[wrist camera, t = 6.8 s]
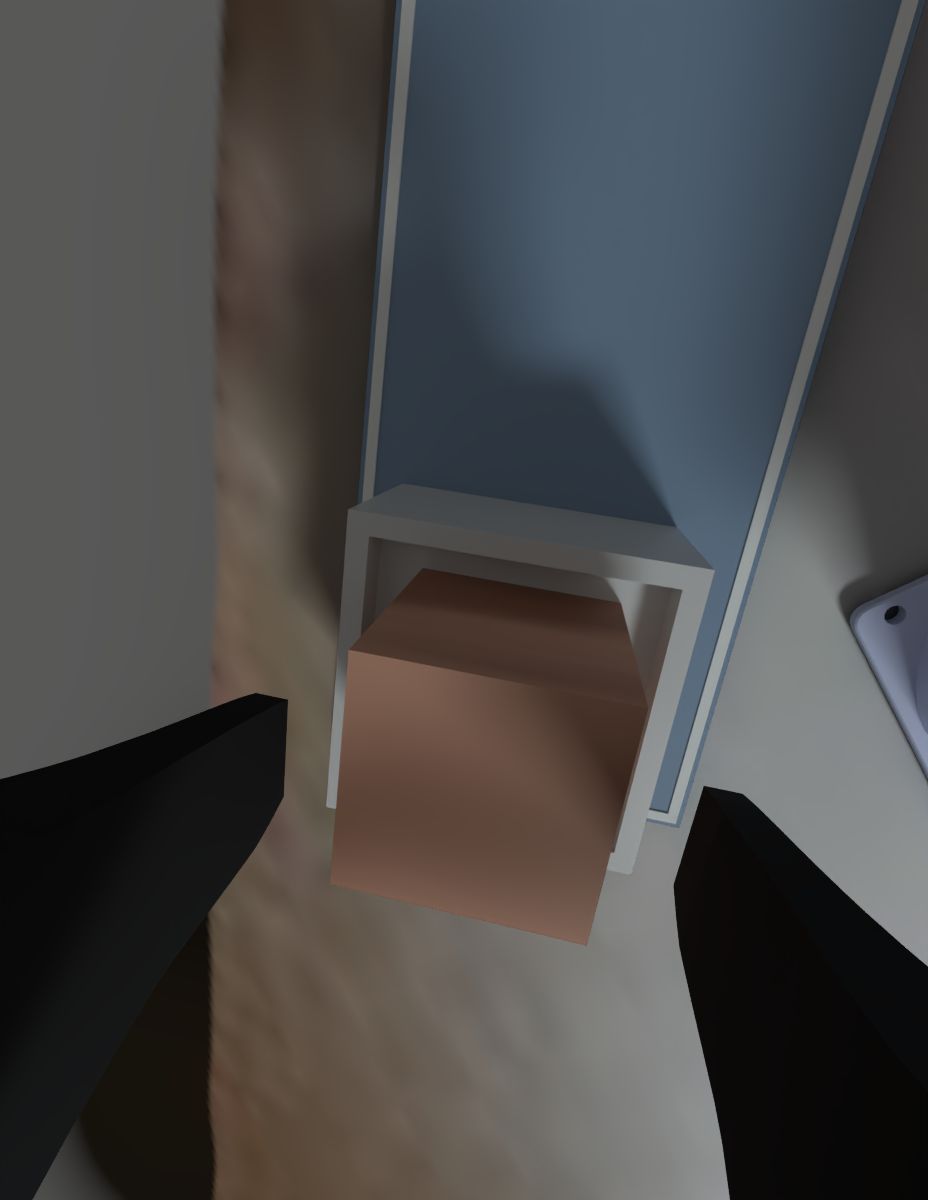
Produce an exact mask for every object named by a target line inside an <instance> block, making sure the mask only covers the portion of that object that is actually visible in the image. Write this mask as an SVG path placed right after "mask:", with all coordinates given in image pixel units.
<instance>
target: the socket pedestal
mask: <svg viewBox="0 0 928 1200" xmlns="http://www.w3.org/2000/svg"><path fill="white" fill-rule="evenodd" d="M422 568H426V569H432V570H437V571H443V572H449V573H454V574H460V575H466V576H471V577H477V578H483V579H488V580H494V581H500V582H505V583H511V584H517V585H522V586H528V587H534V588H539V589H545V590H550V591H556V592H562V593H567V594H573V595H579V596H584V597H590V598H596V599H601V600H607V601H613V602H618V603H621V605H622V609H623V613H624V616H625V620H626V624H627V628H628V632H629V636H630V639H631V643H632V647H633V651H634V655H635V658H636V662H637V666H638V670H639V674H640V678H641V681H642V685H643V689H644V693H645V697H646V700H647V704H648V712H647V716H646V720H645V724H644V728H643V731H642V735H641V739H640V743H639V747H638V751H637V754H636V758H635V762H634V766H633V770H632V774H631V777H630V781H629V785H628V789H627V793H626V797H625V800H624V804H623V808H622V812H621V816H620V820H619V823H618V827H617V831H616V835H615V839H614V843H613V846H612V850H611V854H610V858H609V862H608V866H607V869H606V870H611V871H615V872H620V873H624V874H629V875H631V873H632V870H633V866H634V862H635V859H636V855H637V852H638V848H639V844H640V841H641V837H642V833H643V830H644V826H645V823H646V819H647V815H648V812H649V808H650V804H651V801H652V797H653V794H654V790H655V786H656V783H657V779H658V775H659V772H660V768H661V764H662V761H663V757H664V754H665V750H666V746H667V743H668V739H669V735H670V732H671V728H672V725H673V721H674V717H675V714H676V710H677V706H678V703H679V699H680V695H681V692H682V688H683V685H684V681H685V677H686V674H687V670H688V666H689V663H690V659H691V656H692V652H693V648H694V645H695V641H696V637H697V634H698V630H699V626H700V623H701V619H702V616H703V612H704V608H705V605H706V601H707V597H708V594H709V590H710V587H711V583H712V579H713V576H714V572H715V570H714V568H713V567H712V566H711V565H710V564H709V563H708V562H707V561H706V559H705V558H704V557H703V556H702V555H701V554H700V553H699V552H698V550H697V549H696V548H695V547H694V546H693V545H692V544H691V542H690V541H689V540H688V539H687V538H686V537H685V536H684V535H683V533H682V532H681V531H680V530H679V529H678V528H677V527H672V526H666V525H660V524H653V523H647V522H641V521H635V520H628V519H622V518H616V517H610V516H603V515H597V514H591V513H585V512H578V511H572V510H566V509H560V508H553V507H547V506H541V505H535V504H528V503H522V502H516V501H509V500H503V499H497V498H491V497H484V496H478V495H472V494H466V493H459V492H453V491H447V490H441V489H434V488H428V487H422V486H416V485H409V484H401V485H399V486H396V487H394V488H392V489H390V490H388V491H386V492H384V493H381V494H379V495H377V496H375V497H373V498H371V499H369V500H366V501H364V502H362V503H360V504H358V505H356V506H354V507H352V508H349V509H348V517H347V530H346V544H345V558H344V572H343V586H342V599H341V613H340V627H339V641H338V654H337V668H336V682H335V696H334V710H333V723H332V737H331V751H330V765H329V778H328V792H327V806H326V807H330V808H334V809H336V802H337V789H338V777H339V764H340V752H341V740H342V727H343V715H344V703H345V690H346V678H347V666H348V653H349V649H350V648H351V647H352V646H353V645H354V643H355V642H356V641H357V640H358V639H359V638H360V637H361V636H362V635H363V633H364V632H365V631H366V630H367V629H368V628H369V627H370V626H371V625H372V624H373V622H374V621H375V620H376V619H377V618H378V617H379V616H380V615H381V614H382V612H383V611H384V610H385V609H386V608H387V607H388V606H389V605H390V604H391V603H392V601H393V600H394V599H395V598H396V597H397V596H398V595H399V594H400V593H401V591H402V590H403V589H404V588H405V587H406V586H407V585H408V584H409V583H410V581H411V580H412V579H413V578H414V577H415V576H416V575H417V574H418V573H419V572H420V570H421V569H422Z"/></svg>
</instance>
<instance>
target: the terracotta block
mask: <svg viewBox="0 0 928 1200" xmlns="http://www.w3.org/2000/svg"><path fill="white" fill-rule="evenodd" d="M647 712H648V704H647V700H646V697H645V693H644V689H643V685H642V681H641V678H640V674H639V670H638V666H637V662H636V658H635V655H634V651H633V647H632V643H631V639H630V636H629V632H628V628H627V624H626V620H625V616H624V613H623V609H622V605H621V603H618V602H613V601H607V600H601V599H596V598H590V597H584V596H579V595H573V594H567V593H562V592H556V591H550V590H545V589H539V588H534V587H528V586H522V585H517V584H511V583H505V582H500V581H494V580H488V579H483V578H477V577H471V576H466V575H460V574H454V573H449V572H443V571H437V570H432V569H426V568H422V569H421V570H420V572H419V573H418V574H417V575H416V576H415V577H414V578H413V579H412V580H411V581H410V583H409V584H408V585H407V586H406V587H405V588H404V589H403V590H402V591H401V593H400V594H399V595H398V596H397V597H396V598H395V599H394V600H393V601H392V603H391V604H390V605H389V606H388V607H387V608H386V609H385V610H384V611H383V612H382V614H381V615H380V616H379V617H378V618H377V619H376V620H375V621H374V622H373V624H372V625H371V626H370V627H369V628H368V629H367V630H366V631H365V632H364V633H363V635H362V636H361V637H360V638H359V639H358V640H357V641H356V642H355V643H354V645H353V646H352V647H351V648H350V649H349V653H348V666H347V678H346V690H345V703H344V715H343V727H342V740H341V752H340V764H339V777H338V789H337V802H336V814H335V826H334V839H333V851H332V863H331V876H330V884H332V885H336V886H340V887H345V888H349V889H353V890H357V891H361V892H365V893H370V894H374V895H378V896H382V897H386V898H390V899H395V900H399V901H403V902H407V903H411V904H415V905H420V906H424V907H428V908H432V909H436V910H440V911H444V912H449V913H453V914H457V915H461V916H465V917H469V918H474V919H478V920H482V921H486V922H490V923H494V924H499V925H503V926H507V927H511V928H515V929H519V930H524V931H528V932H532V933H536V934H540V935H544V936H548V937H553V938H557V939H561V940H565V941H569V942H573V943H578V944H582V945H586V946H587V942H588V938H589V935H590V931H591V927H592V923H593V919H594V915H595V912H596V908H597V904H598V900H599V896H600V892H601V889H602V885H603V881H604V877H605V873H606V869H607V866H608V862H609V858H610V854H611V850H612V846H613V843H614V839H615V835H616V831H617V827H618V823H619V820H620V816H621V812H622V808H623V804H624V800H625V797H626V793H627V789H628V785H629V781H630V777H631V774H632V770H633V766H634V762H635V758H636V754H637V751H638V747H639V743H640V739H641V735H642V731H643V728H644V724H645V720H646V716H647Z"/></svg>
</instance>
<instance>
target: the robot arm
mask: <svg viewBox="0 0 928 1200" xmlns="http://www.w3.org/2000/svg"><path fill="white" fill-rule="evenodd" d="M892 606H898V607H899V612H898V614H897V615H896V616H895V617H894V618H892V619H888V620H885V618H884V614H885V612H886V610H888V609H889V608H890V607H892ZM850 625H851V629H852V631H853V633H854V635H855V637H856V639H857V641H858V643H859V644H860V646H861V648H862V650H863V652H864V654H865V656H866V658H867V660H868V662H869V664H870V666H871V668H872V670H873V672H874V674H875V676H876V678H877V680H878V682H879V684H880V686H881V688H882V690H883V692H884V694H885V696H886V698H887V700H888V702H889V704H890V706H891V707H892V709H893V711H894V713H895V715H896V717H897V719H898V721H899V723H900V725H901V727H902V729H903V731H904V733H905V735H906V737H907V739H908V741H909V743H910V745H911V747H912V749H913V751H914V753H915V755H916V757H917V759H918V761H919V763H920V765H921V767H922V768H923V770H924V772H925V774H926V776H927V778H928V575H925V576H923V577H921V578H919V579H917V580H914V581H912V582H910V583H908V584H906V585H903V586H901V587H899V588H897V589H895V590H892V591H890V592H888V593H886V594H884V595H881V596H879V597H877V598H875V599H873V600H871V601H868V602H866V603H864V604H862V605H860V606H859V607H857V608H856V609H855V610H854V612H853V613H852V614H851V618H850ZM287 710H288V700H287V699H282V698H277V697H272V696H268V695H263V694H258V693H254V694H251V695H247V696H244V697H241V698H238V699H235V700H232V701H230V702H227V703H224V704H222V705H219V706H217V707H214V708H211V709H209V710H206V711H204V712H201V713H199V714H196V715H194V716H191V717H189V718H186V719H184V720H181V721H178V722H176V723H173V724H171V725H168V726H165V727H163V728H160V729H158V730H155V731H152V732H150V733H147V734H145V735H142V736H139V737H136V738H133V739H130V740H127V741H124V742H121V743H119V744H116V745H113V746H110V747H107V748H104V749H101V750H99V751H96V752H93V753H90V754H87V755H84V756H81V757H78V758H75V759H71V760H68V761H65V762H61V763H58V764H55V765H51V766H48V767H44V768H41V769H37V770H34V771H29V772H26V773H22V774H18V775H15V776H11V777H7V778H4V779H0V1200H32V1199H33V1198H34V1196H35V1194H36V1192H37V1190H38V1189H39V1187H40V1185H41V1183H42V1181H43V1179H44V1178H45V1176H46V1174H47V1172H48V1170H49V1168H50V1167H51V1164H52V1163H53V1161H54V1159H55V1157H56V1156H57V1153H58V1152H59V1150H60V1148H61V1146H62V1145H63V1143H64V1141H65V1139H66V1137H67V1135H68V1134H69V1132H70V1130H71V1128H72V1127H73V1125H74V1123H75V1121H76V1120H77V1118H78V1116H79V1114H80V1112H81V1111H82V1109H83V1107H84V1106H85V1104H86V1102H87V1100H88V1099H89V1097H90V1095H91V1093H92V1092H93V1090H94V1088H95V1087H96V1085H97V1083H98V1081H99V1080H100V1078H101V1076H102V1075H103V1073H104V1071H105V1069H106V1068H107V1066H108V1064H109V1062H110V1060H111V1059H112V1057H113V1055H114V1054H115V1052H116V1050H117V1049H118V1047H119V1045H120V1043H121V1042H122V1040H123V1039H124V1037H125V1035H126V1034H127V1032H128V1030H129V1029H130V1027H131V1026H132V1024H133V1022H134V1021H135V1019H136V1017H137V1015H138V1014H139V1012H140V1010H141V1009H142V1007H143V1006H144V1004H145V1002H146V1001H147V999H148V997H149V996H150V994H151V992H152V991H153V989H154V988H155V986H156V985H157V983H158V982H159V980H160V979H161V977H162V976H163V974H164V973H165V971H166V970H167V968H168V967H169V965H170V964H171V962H172V961H173V960H174V958H175V957H176V956H177V954H178V953H179V951H180V950H181V949H182V947H183V946H184V945H185V943H186V942H187V941H188V939H189V938H190V937H191V935H192V934H193V932H194V931H195V930H196V928H197V927H198V926H199V924H200V923H201V922H202V920H203V919H204V918H205V916H206V915H207V914H208V912H209V911H210V909H211V908H212V907H213V905H214V904H215V903H216V901H217V900H218V899H219V897H220V896H221V895H222V893H223V892H224V891H225V889H226V888H227V886H228V885H229V884H230V882H231V881H232V880H233V878H234V877H235V875H236V874H237V873H238V871H239V870H240V869H241V867H242V866H243V864H244V863H245V862H246V860H247V859H248V858H249V856H250V855H251V853H252V852H253V850H254V849H255V848H256V846H257V844H258V843H259V841H260V839H261V837H262V836H263V834H264V832H265V830H266V829H267V827H268V825H269V823H270V821H271V820H272V818H273V816H274V814H275V812H276V810H277V808H278V806H279V804H280V803H281V801H282V799H283V797H284V776H285V754H286V732H287ZM674 896H675V908H676V920H677V929H678V938H679V947H680V952H681V956H682V961H683V966H684V970H685V975H686V979H687V984H688V988H689V993H690V997H691V1002H692V1006H693V1010H694V1015H695V1019H696V1023H697V1028H698V1032H699V1037H700V1041H701V1045H702V1050H703V1054H704V1058H705V1063H706V1067H707V1071H708V1076H709V1080H710V1085H711V1089H712V1093H713V1098H714V1102H715V1107H716V1112H717V1118H718V1123H719V1128H720V1133H721V1139H722V1145H723V1152H724V1159H725V1166H726V1174H727V1181H728V1188H729V1195H730V1200H928V966H927V965H925V964H924V963H923V962H922V961H921V960H919V959H918V958H917V957H916V956H915V955H913V954H912V953H911V952H910V951H909V950H908V949H906V948H905V947H904V946H903V945H902V944H901V943H900V942H898V941H897V940H896V939H895V938H894V937H893V936H892V935H891V934H889V933H888V932H887V931H886V930H885V929H884V928H883V927H882V926H880V925H879V924H878V923H877V922H876V921H875V920H874V919H873V918H871V917H870V916H869V915H868V914H867V913H866V912H865V911H864V910H863V909H862V908H860V907H859V906H858V905H857V904H856V903H855V902H854V901H853V900H852V899H851V898H850V897H849V896H848V895H847V894H845V893H844V892H843V891H842V890H841V889H840V888H839V887H838V886H837V885H836V884H835V883H834V882H833V881H832V880H831V879H830V878H829V877H828V876H827V875H826V874H825V873H824V872H823V871H822V870H821V869H820V868H818V867H817V866H816V865H815V864H814V863H813V862H812V861H811V860H810V859H809V858H808V857H807V856H806V855H805V854H804V853H803V852H802V851H801V850H800V849H799V848H798V847H797V846H796V845H795V844H794V843H793V842H792V841H791V840H790V839H789V838H788V837H787V836H786V835H785V834H784V833H783V832H782V831H781V830H780V829H779V828H778V827H777V826H776V825H775V824H774V823H773V822H772V821H771V820H770V819H769V818H768V817H767V816H766V815H765V814H764V813H763V812H762V811H761V810H760V809H759V808H758V807H757V806H756V805H755V804H754V803H752V802H751V801H750V800H749V799H748V798H747V797H746V796H744V795H743V794H741V793H736V792H731V791H726V790H721V789H716V788H712V787H707V786H704V787H703V791H702V794H701V797H700V800H699V804H698V807H697V810H696V813H695V817H694V820H693V823H692V827H691V830H690V833H689V836H688V840H687V843H686V846H685V849H684V853H683V856H682V859H681V863H680V866H679V869H678V872H677V876H676V879H675V882H674Z"/></svg>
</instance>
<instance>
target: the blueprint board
mask: <svg viewBox="0 0 928 1200" xmlns="http://www.w3.org/2000/svg"><path fill="white" fill-rule="evenodd" d="M925 1H926V0H396V12H395V25H394V38H393V51H392V64H391V77H390V90H389V103H388V116H387V128H386V141H385V154H384V167H383V180H382V193H381V206H380V219H379V232H378V245H377V258H376V271H375V284H374V297H373V310H372V322H371V335H370V348H369V361H368V374H367V387H366V400H365V413H364V426H363V439H362V452H361V465H360V478H359V491H358V504H360V503H362V502H364V501H366V500H369V499H371V498H373V497H375V496H377V495H379V494H381V493H384V492H386V491H388V490H390V489H392V488H394V487H396V486H399V485H401V484H409V485H416V486H422V487H428V488H434V489H441V490H447V491H453V492H459V493H466V494H472V495H478V496H484V497H491V498H497V499H503V500H509V501H516V502H522V503H528V504H535V505H541V506H547V507H553V508H560V509H566V510H572V511H578V512H585V513H591V514H597V515H603V516H610V517H616V518H622V519H628V520H635V521H641V522H647V523H653V524H660V525H666V526H672V527H677V528H678V529H679V530H680V531H681V532H682V533H683V535H684V536H685V537H686V538H687V539H688V540H689V541H690V542H691V544H692V545H693V546H694V547H695V548H696V549H697V550H698V552H699V553H700V554H701V555H702V556H703V557H704V558H705V559H706V561H707V562H708V563H709V564H710V565H711V566H712V567H713V568H714V570H715V572H714V576H713V579H712V583H711V587H710V590H709V594H708V597H707V601H706V605H705V608H704V612H703V616H702V619H701V623H700V626H699V630H698V634H697V637H696V641H695V645H694V648H693V652H692V656H691V659H690V663H689V666H688V670H687V674H686V677H685V681H684V685H683V688H682V692H681V695H680V699H679V703H678V706H677V710H676V714H675V717H674V721H673V725H672V728H671V732H670V735H669V739H668V743H667V746H666V750H665V754H664V757H663V761H662V764H661V768H660V772H659V775H658V779H657V783H656V786H655V790H654V794H653V797H652V801H651V804H650V808H649V812H648V815H647V819H646V821H649V822H653V823H658V824H663V825H667V826H672V827H677V828H679V827H680V824H681V820H682V817H683V814H684V810H685V807H686V804H687V800H688V797H689V793H690V790H691V787H692V783H693V780H694V777H695V773H696V770H697V767H698V763H699V760H700V757H701V753H702V750H703V746H704V743H705V740H706V736H707V733H708V730H709V726H710V723H711V720H712V716H713V713H714V710H715V706H716V703H717V699H718V696H719V693H720V689H721V686H722V683H723V679H724V676H725V673H726V669H727V666H728V663H729V659H730V656H731V652H732V649H733V646H734V642H735V639H736V636H737V632H738V629H739V626H740V622H741V619H742V615H743V612H744V609H745V605H746V602H747V599H748V595H749V592H750V589H751V585H752V582H753V579H754V575H755V572H756V568H757V565H758V562H759V558H760V555H761V552H762V548H763V545H764V542H765V538H766V535H767V532H768V528H769V525H770V521H771V518H772V515H773V511H774V508H775V505H776V501H777V498H778V495H779V491H780V488H781V485H782V481H783V478H784V474H785V471H786V468H787V464H788V461H789V458H790V454H791V451H792V448H793V444H794V441H795V438H796V434H797V431H798V427H799V424H800V421H801V417H802V414H803V411H804V407H805V404H806V401H807V397H808V394H809V390H810V387H811V384H812V380H813V377H814V374H815V370H816V367H817V364H818V360H819V357H820V354H821V350H822V347H823V343H824V340H825V337H826V333H827V330H828V327H829V323H830V320H831V317H832V313H833V310H834V307H835V303H836V300H837V296H838V293H839V290H840V286H841V283H842V280H843V276H844V273H845V270H846V266H847V263H848V260H849V256H850V253H851V249H852V246H853V243H854V239H855V236H856V233H857V229H858V226H859V223H860V219H861V216H862V213H863V209H864V206H865V202H866V199H867V196H868V192H869V189H870V186H871V182H872V179H873V176H874V172H875V169H876V165H877V162H878V159H879V155H880V152H881V149H882V145H883V142H884V139H885V135H886V132H887V129H888V125H889V122H890V118H891V115H892V112H893V108H894V105H895V102H896V98H897V95H898V92H899V88H900V85H901V82H902V78H903V75H904V71H905V68H906V65H907V61H908V58H909V55H910V51H911V48H912V45H913V41H914V38H915V35H916V31H917V28H918V24H919V21H920V18H921V14H922V11H923V8H924V4H925ZM358 504H357V505H358Z"/></svg>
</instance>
